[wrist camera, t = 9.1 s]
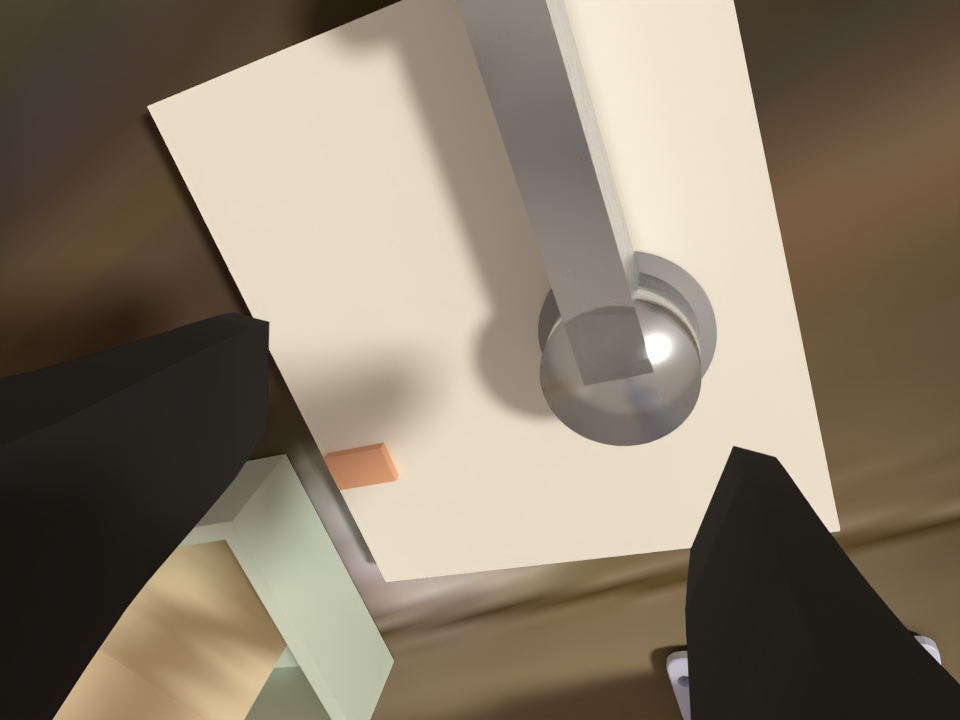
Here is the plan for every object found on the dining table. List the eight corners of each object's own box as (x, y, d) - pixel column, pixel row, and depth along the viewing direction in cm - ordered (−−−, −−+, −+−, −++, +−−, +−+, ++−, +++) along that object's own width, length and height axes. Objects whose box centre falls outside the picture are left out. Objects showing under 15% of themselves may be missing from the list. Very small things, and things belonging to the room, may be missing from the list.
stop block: (317, 590, 28) (233, 738, 22) (258, 654, 30) (170, 800, 25) (202, 509, 27) (88, 642, 22) (152, 582, 29) (39, 715, 24)
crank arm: (714, 386, 19) (719, 462, 16) (576, 412, 20) (558, 486, 18) (571, -167, 14) (544, -195, 12) (404, -89, 16) (343, -98, 13)
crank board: (832, 503, 22) (842, 538, 20) (397, 557, 26) (382, 588, 25) (706, -123, 16) (708, -129, 14) (174, 98, 21) (139, 108, 19)
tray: (394, 661, 29) (360, 742, 26) (196, 675, 32) (146, 748, 29) (285, 454, 25) (232, 521, 22) (75, 493, 29) (4, 557, 26)
